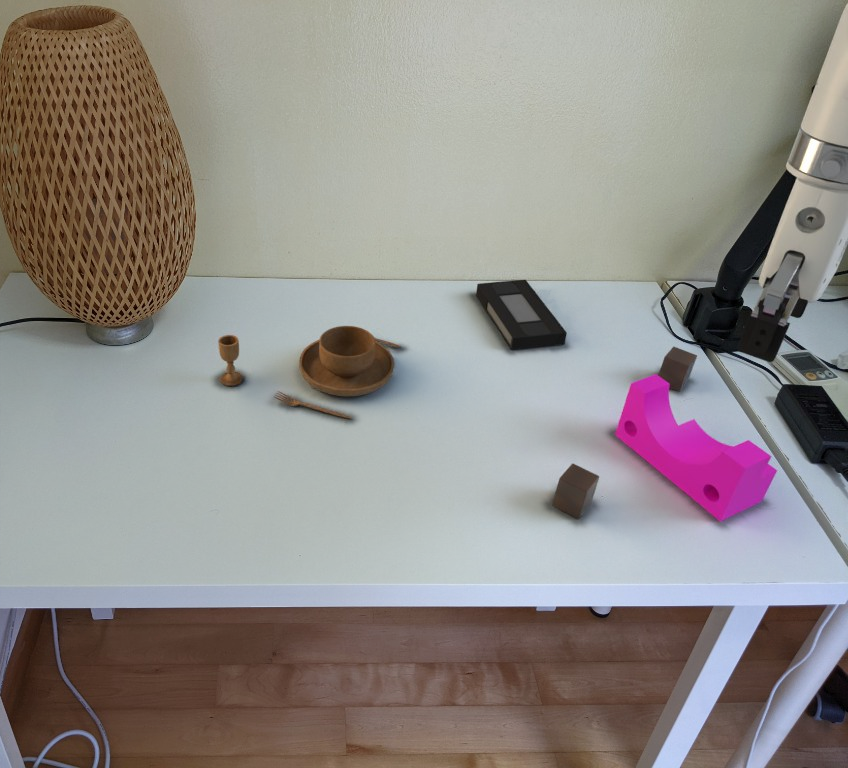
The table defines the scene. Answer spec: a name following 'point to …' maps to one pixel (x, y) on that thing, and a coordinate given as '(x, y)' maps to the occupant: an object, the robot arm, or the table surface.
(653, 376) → the toy block
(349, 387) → the place setting
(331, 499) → the table surface
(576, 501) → the brown cubes
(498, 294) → the vhs tape
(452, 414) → the table surface
